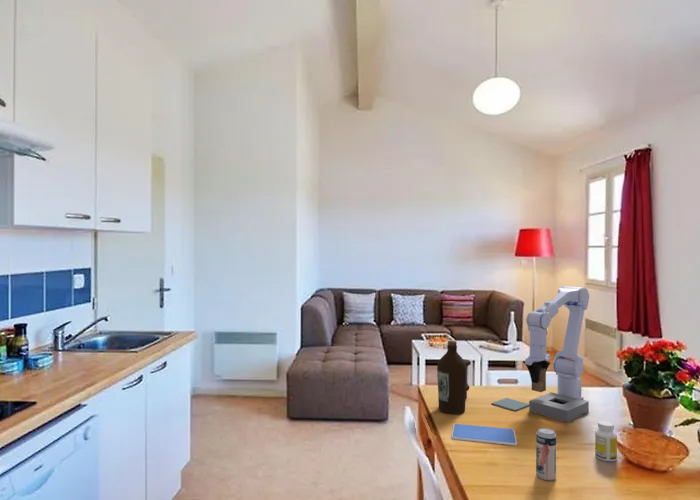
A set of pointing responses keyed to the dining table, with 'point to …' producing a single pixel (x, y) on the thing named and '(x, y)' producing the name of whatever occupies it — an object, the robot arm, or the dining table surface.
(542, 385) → the tall wooden block
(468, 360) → the bolt
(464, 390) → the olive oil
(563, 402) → the grey flat block
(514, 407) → the mat
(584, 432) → the dining table surface
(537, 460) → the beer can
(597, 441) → the supplement bottle
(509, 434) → the tablet computer
